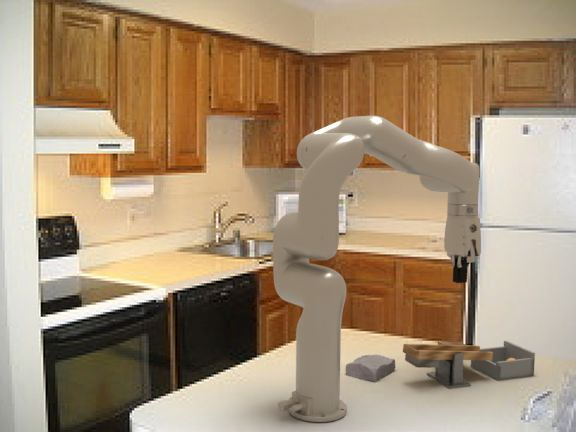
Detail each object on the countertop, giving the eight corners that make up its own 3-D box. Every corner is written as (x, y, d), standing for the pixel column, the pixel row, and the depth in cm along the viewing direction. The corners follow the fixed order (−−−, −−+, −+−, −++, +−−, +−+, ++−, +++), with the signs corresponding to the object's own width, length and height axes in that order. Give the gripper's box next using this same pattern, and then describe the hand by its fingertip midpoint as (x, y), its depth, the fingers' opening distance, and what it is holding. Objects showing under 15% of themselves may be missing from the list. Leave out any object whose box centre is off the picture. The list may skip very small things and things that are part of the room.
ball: (521, 371, 160) (511, 369, 159) (512, 371, 163) (502, 370, 162) (521, 358, 161) (511, 356, 160) (512, 358, 164) (502, 357, 163)
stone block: (342, 382, 159) (377, 383, 153) (340, 363, 159) (375, 363, 153) (365, 371, 168) (399, 371, 163) (362, 353, 169) (396, 353, 163)
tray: (497, 380, 156) (498, 357, 155) (470, 366, 166) (471, 344, 165) (533, 375, 159) (534, 352, 159) (505, 362, 170) (506, 340, 169)
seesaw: (414, 367, 148) (416, 351, 148) (386, 350, 161) (388, 335, 161) (490, 368, 156) (493, 352, 156) (458, 352, 168) (460, 337, 168)
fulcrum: (449, 388, 150) (450, 356, 149) (426, 374, 159) (427, 344, 159) (470, 385, 152) (471, 354, 151) (447, 372, 161) (448, 342, 161)
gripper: (493, 213, 154) (490, 287, 156) (458, 208, 168) (455, 276, 170) (467, 214, 152) (464, 289, 153) (433, 208, 166) (431, 277, 168)
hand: (459, 282), depth 162 cm, fingers closed
